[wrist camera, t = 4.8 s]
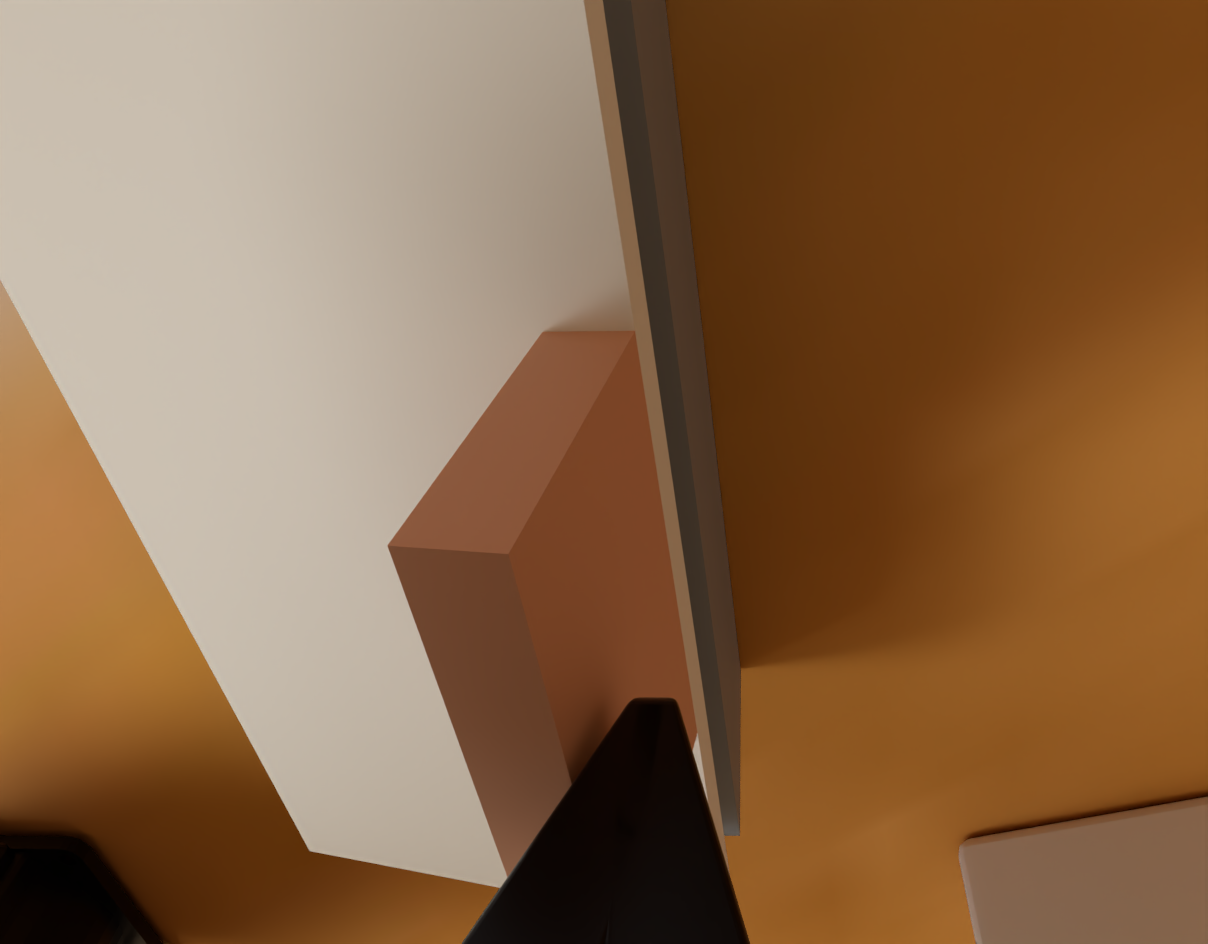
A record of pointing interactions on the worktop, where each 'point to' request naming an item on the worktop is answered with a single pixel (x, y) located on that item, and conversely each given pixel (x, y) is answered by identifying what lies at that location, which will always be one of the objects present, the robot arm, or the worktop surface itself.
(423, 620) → the flap
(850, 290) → the worktop surface
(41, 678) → the worktop surface
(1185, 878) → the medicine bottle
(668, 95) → the carton
